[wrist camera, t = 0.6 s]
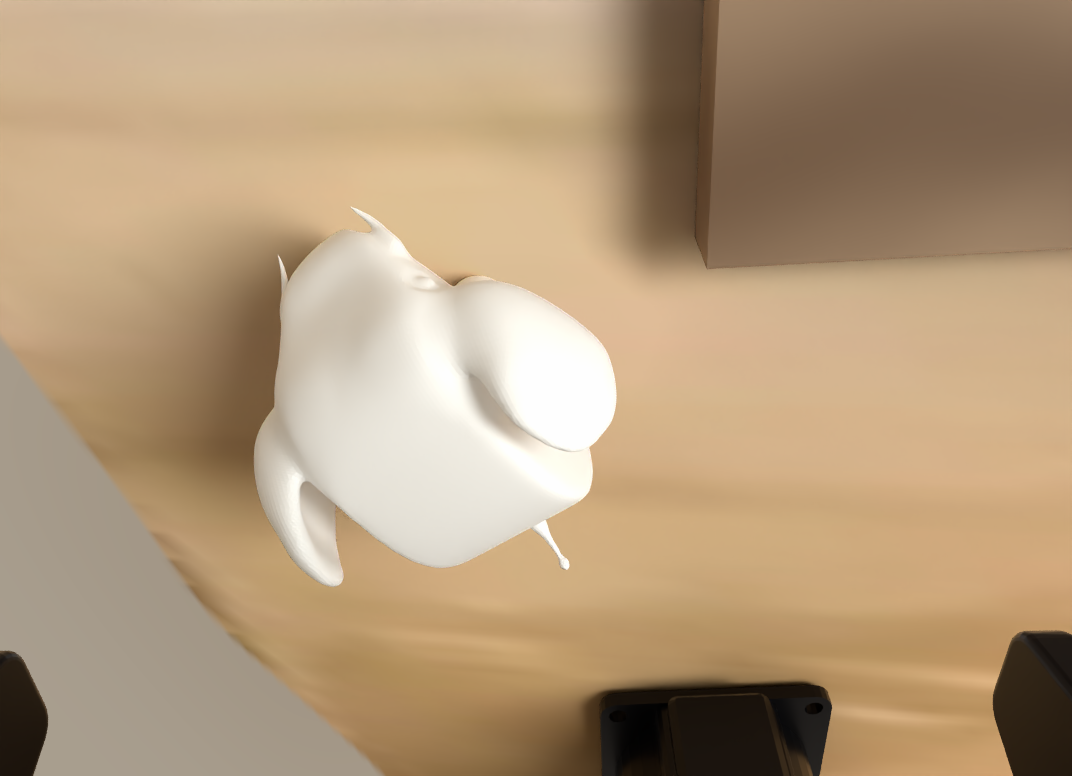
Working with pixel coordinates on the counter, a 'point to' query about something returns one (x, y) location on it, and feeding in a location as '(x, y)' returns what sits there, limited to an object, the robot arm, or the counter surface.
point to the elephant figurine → (423, 408)
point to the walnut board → (883, 129)
